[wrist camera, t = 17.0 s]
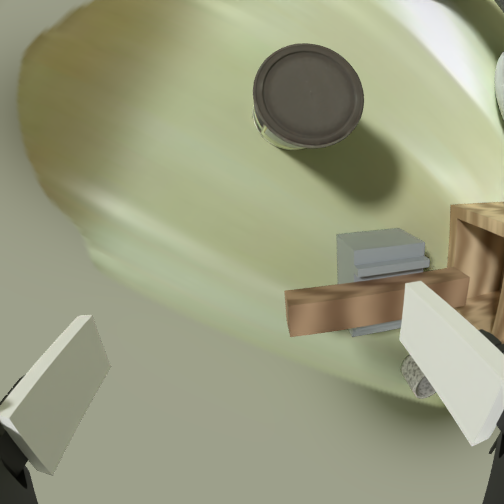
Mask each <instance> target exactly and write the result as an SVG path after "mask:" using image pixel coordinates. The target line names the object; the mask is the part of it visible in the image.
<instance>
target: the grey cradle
mask: <svg viewBox="0 0 504 504" xmlns="http://www.w3.org/2000/svg"><path fill="white" fill-rule="evenodd" d="M424 252H425V242H424V241H422V240H420V239H418V238H416V237H415V236H413V235H411V234H409V233H407V232H405V231H404V230H402V229H400V228H394V229H384V230H374V231H364V232H354V233H345V234H337V266H338V284H344V283H352V282H359V281H366V280H373V279H380V278H387V277H394V276H401V275H407V274H414V273H420V272H423V268H426V267H429V264H430V259H428V258H427V257H425V256H424ZM401 323H402V319H401V320H396V321H391V322H386V323H380V324H375V325H369V326H363V327H357V328H351V329H348V330H349V332H350V334H351V335H352V337H355V336H361V335H366V334H372V333H377V332H383V331H388V330H393V329H398V328H401Z"/></svg>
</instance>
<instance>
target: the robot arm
mask: <svg viewBox="0 0 504 504" xmlns="http://www.w3.org/2000/svg"><path fill="white" fill-rule="evenodd" d="M495 2H496V3H497V4H498V6H499V7H500V8H501V10H502V11H503V12H504V0H495ZM399 340H400V341H401V343H402V344H403V345H404V347H405V348H406V350H407V351H408V352H409V354H410V355H411V357H412V358H413V359H414V361H415V362H416V364H417V365H418V366H419V368H420V369H421V371H422V372H423V374H424V375H425V376H426V378H427V379H428V381H429V382H430V384H431V385H432V386H433V388H434V389H435V391H436V392H437V394H438V395H439V397H440V398H441V400H442V401H443V403H444V404H445V406H446V407H447V409H448V410H449V412H450V413H451V415H452V416H453V418H454V419H455V421H456V423H457V424H458V426H459V427H460V429H461V430H462V432H463V433H464V435H465V437H466V438H467V440H468V441H469V443H470V445H471V446H474V445H475V444H478V443H480V442H482V441H484V440H486V439H488V438H490V436H491V434H492V432H493V430H494V429H495V427H496V425H497V426H498V428H499V429H500V430H501V432H500V434H499V436H498V437H497V439H496V441H495V442H494V444H493V446H492V447H491V449H490V451H489V454H491V453H492V452H493V451H494V449H495V448H496V450H495V455H494V460H493V465H492V469H491V474H490V478H489V482H488V486H487V490H486V493H485V497H484V500H483V504H504V344H502V342H501V341H500V340H499V339H497V338H496V337H495V336H494V335H493V334H491V333H489V332H487V331H485V330H483V329H480V330H477V329H476V328H475V327H474V326H473V325H472V324H471V323H470V322H468V321H467V320H466V319H465V318H464V317H463V316H462V315H460V314H459V313H458V312H457V311H456V310H455V309H454V308H452V307H451V306H450V305H449V304H448V303H447V302H446V301H444V300H443V299H442V298H441V297H440V296H438V295H437V294H436V293H435V292H434V291H433V290H431V289H430V288H429V287H428V286H426V285H425V284H424V283H423V282H422V281H417V282H411V283H405V294H404V305H403V314H402V323H401V331H400V339H399ZM110 368H111V365H110V362H109V360H108V357H107V355H106V352H105V349H104V347H103V344H102V341H101V338H100V336H99V333H98V330H97V327H96V324H95V321H94V318H93V315H79V316H78V317H77V318H76V319H75V320H74V321H73V322H72V323H71V324H70V325H69V326H68V327H67V328H66V329H65V331H64V332H63V333H62V334H61V335H60V336H59V337H58V338H57V339H56V340H55V342H54V343H53V344H52V345H51V346H50V347H49V348H48V349H47V350H46V352H45V353H44V354H43V355H42V356H41V357H40V359H39V360H38V361H37V362H36V363H35V364H34V365H33V366H32V368H31V369H30V370H29V371H28V372H27V374H25V375H24V376H23V377H21V378H20V379H19V380H18V381H17V382H16V384H15V385H14V386H13V388H11V390H10V391H9V392H8V395H6V396H5V397H4V398H3V399H2V401H1V402H0V504H38V502H37V499H36V495H35V492H34V488H33V484H32V481H31V476H30V473H29V470H28V469H27V467H26V466H25V464H26V462H27V461H28V460H29V462H30V463H31V464H32V465H33V466H34V468H35V469H36V470H37V471H40V472H43V473H46V474H49V475H53V474H54V472H55V470H56V468H57V466H58V464H59V462H60V460H61V458H62V456H63V454H64V452H65V450H66V448H67V446H68V444H69V443H70V441H71V439H72V437H73V435H74V433H75V431H76V429H77V427H78V425H79V424H80V422H81V420H82V418H83V416H84V414H85V412H86V411H87V409H88V407H89V405H90V403H91V402H92V400H93V398H94V396H95V394H96V393H97V391H98V389H99V387H100V385H101V384H102V382H103V380H104V379H105V377H106V375H107V373H108V372H109V370H110Z"/></svg>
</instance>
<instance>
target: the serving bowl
mask: <svg viewBox="0 0 504 504" xmlns="http://www.w3.org/2000/svg"><path fill="white" fill-rule="evenodd" d="M495 92H496V98H497V102H498V106H499V109H500V112H501V115H502V117H503V119H504V52H503V53H502V54H501V56H500V57H499V59H498V62H497V65H496V70H495Z"/></svg>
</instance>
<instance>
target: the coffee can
mask: <svg viewBox="0 0 504 504" xmlns="http://www.w3.org/2000/svg"><path fill="white" fill-rule="evenodd" d="M253 99H254V104H253V120H254V123H255V126H256V128H257V130H258V132H259V133H260V135H261V136H262V137H263V138H264V139H265V140H266V141H268V142H269V143H270V144H272V145H274V146H276V147H279V148H282V149H286V150H298V149H303V148H322V147H327V146H330V145H333V144H336V143H338V142H340V141H341V140H343V139H344V138H346V137H347V136H348V135H349V134H350V133H351V132H352V131H353V130H354V129H355V127H356V126H357V124H358V122H359V120H360V118H361V115H362V112H363V106H364V94H363V88H362V85H361V82H360V79H359V77H358V75H357V73H356V72H355V70H354V69H353V67H352V66H351V65H350V64H349V63H348V62H347V61H346V60H345V59H344V58H343V57H342V56H340V55H339V54H338V53H336V52H334V51H333V50H331V49H328V48H326V47H323V46H319V45H315V44H293V45H289V46H286V47H284V48H281V49H279V50H277V51H276V52H274V53H273V54H271V55H270V56H269V57H268V58H267V59H266V60H265V61H264V62H263V63H262V65H261V66H260V68H259V70H258V72H257V74H256V77H255V80H254V86H253Z"/></svg>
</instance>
